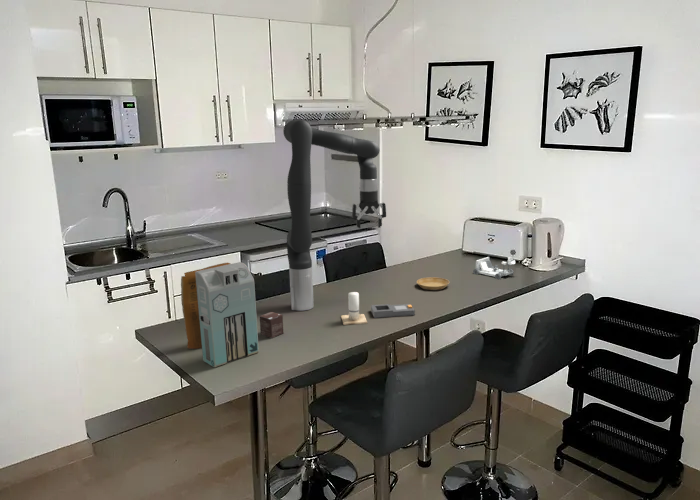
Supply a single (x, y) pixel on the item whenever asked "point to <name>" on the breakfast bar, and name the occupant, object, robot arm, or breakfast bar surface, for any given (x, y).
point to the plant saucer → (432, 283)
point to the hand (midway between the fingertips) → (369, 227)
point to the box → (271, 324)
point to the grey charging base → (392, 310)
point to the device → (227, 313)
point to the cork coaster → (348, 322)
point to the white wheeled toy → (492, 268)
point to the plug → (353, 305)
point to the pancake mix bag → (192, 307)
